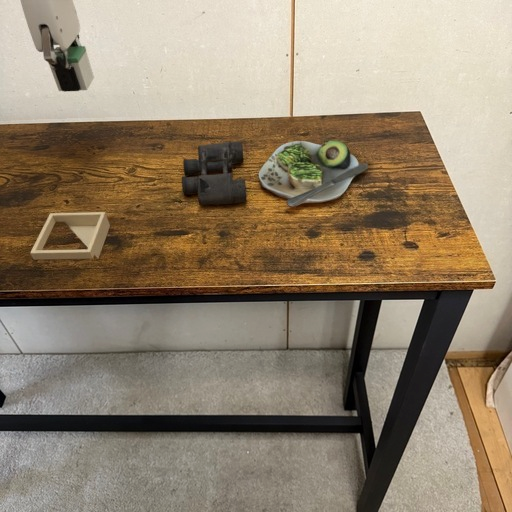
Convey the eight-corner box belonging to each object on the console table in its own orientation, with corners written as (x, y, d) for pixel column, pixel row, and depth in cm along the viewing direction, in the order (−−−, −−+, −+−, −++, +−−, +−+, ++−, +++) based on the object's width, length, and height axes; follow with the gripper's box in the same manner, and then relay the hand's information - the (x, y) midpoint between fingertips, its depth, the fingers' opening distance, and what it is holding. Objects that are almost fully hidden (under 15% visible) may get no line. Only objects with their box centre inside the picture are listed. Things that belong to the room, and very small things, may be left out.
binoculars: (183, 212, 78) (177, 182, 74) (187, 159, 89) (182, 130, 85) (247, 207, 78) (245, 177, 74) (243, 155, 89) (240, 126, 85)
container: (58, 91, 79) (46, 59, 75) (67, 78, 83) (56, 46, 79) (87, 90, 79) (76, 58, 75) (94, 77, 83) (85, 45, 79)
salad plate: (333, 228, 74) (336, 205, 70) (239, 197, 80) (237, 176, 77) (373, 165, 85) (376, 143, 82) (287, 143, 92) (287, 122, 88)
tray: (37, 267, 70) (29, 253, 68) (56, 226, 77) (50, 213, 75) (96, 266, 70) (89, 252, 68) (110, 225, 76) (105, 211, 74)
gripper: (32, -49, 74) (69, 63, 87) (-12, -17, 62) (39, 107, 75) (77, -51, 74) (108, 62, 87) (43, -19, 62) (84, 105, 75)
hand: (75, 81), depth 81 cm, fingers closed on container, 5 cm apart
